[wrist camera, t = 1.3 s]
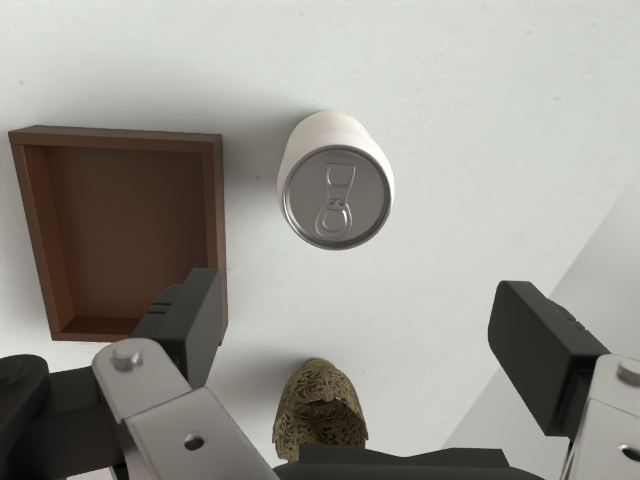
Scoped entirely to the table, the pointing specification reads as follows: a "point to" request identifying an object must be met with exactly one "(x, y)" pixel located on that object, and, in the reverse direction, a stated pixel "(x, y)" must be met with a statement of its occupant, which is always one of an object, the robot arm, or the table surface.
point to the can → (334, 182)
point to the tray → (118, 221)
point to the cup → (318, 411)
